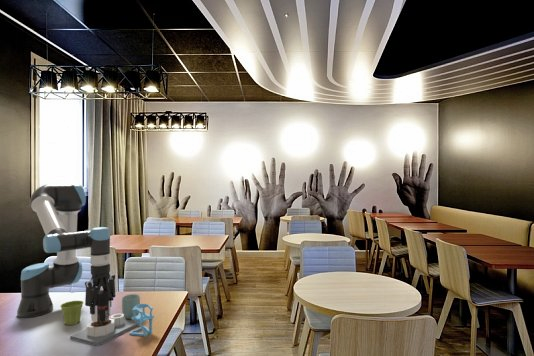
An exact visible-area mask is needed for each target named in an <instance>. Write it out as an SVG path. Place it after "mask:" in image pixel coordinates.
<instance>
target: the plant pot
mask: <svg viewBox="0 0 534 356" xmlns="http://www.w3.org/2000/svg"><path fill="white" fill-rule="evenodd" d="M83 304H84V301H83V300H71V301H67V302H64V303H62V304H60V305H59V306H60V308H61V310H62V315H63V321H64V322H63V323H64V325H67V326H72V325H73V326H74V325H76V324H78V323H80V322H81V314H82V307H83Z"/></svg>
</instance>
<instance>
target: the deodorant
mask: <svg viewBox="0 0 534 356" xmlns="http://www.w3.org/2000/svg"><path fill="white" fill-rule="evenodd" d="M95 306H97V322H93V323H94V327H100V326H105V325H108V324H109V318H110V316H109V291H105V290H102V289H100V290H99V292H98V294H97V301H96V305H95Z"/></svg>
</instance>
